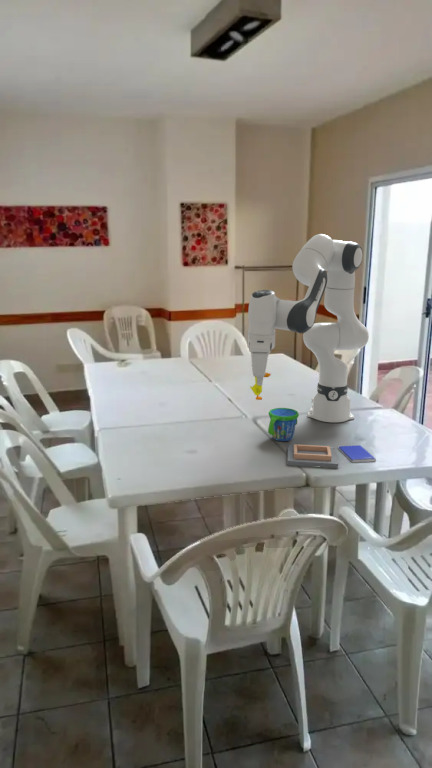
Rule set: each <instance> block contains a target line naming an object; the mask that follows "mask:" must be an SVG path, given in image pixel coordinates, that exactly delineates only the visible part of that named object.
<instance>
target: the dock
mask: <svg viewBox="0 0 432 768" xmlns="http://www.w3.org/2000/svg"><path fill="white" fill-rule="evenodd" d="M337 456H338V455H337V451H336V448H335V447H331V446H330V445H313V444H295V443H294V444H293V445H287V462H286V465H287V466H292V467H293V466H294V467H295V466H296V467H308V466H320V467H319V468H325V467H332V468H331V469H339V462H338V457H337Z"/></svg>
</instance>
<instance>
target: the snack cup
mask: <svg viewBox="0 0 432 768" xmlns="http://www.w3.org/2000/svg"><path fill="white" fill-rule="evenodd" d="M268 416H269V424H268V428H267V431H268V432H267V433H268V435H269V436H270V435H271V436H272V439H274V440H276V441H279V442H289V441H292V440H293V439H294V435H295V430H296V425H297V424H298V418H299V412H298V411H297V410H296V409H292V408H288V407H276V408H271V409H270V410H269V411H268Z"/></svg>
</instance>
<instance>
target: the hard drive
mask: <svg viewBox="0 0 432 768" xmlns="http://www.w3.org/2000/svg"><path fill="white" fill-rule="evenodd" d="M338 450H339V451H340V452H341V453H342V454H343V455H344V457H346V458H347V459H348V460H349V461H350V462H351V463H365V462H368V463H369V462H376V457H374V456H373V455H372V454H371V453H370V452H369V451H367V450H366V449H365V448H364V447H363V446H362V445H359V444H358V445H340V446H338Z"/></svg>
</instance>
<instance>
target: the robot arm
mask: <svg viewBox="0 0 432 768" xmlns="http://www.w3.org/2000/svg"><path fill="white" fill-rule="evenodd" d="M363 254H364V253H363V248H362V246H361V245H360V243H357V242H354V241H345V240H344V241H343V240H338V239H332V238H331V237H330V236H329V235H326V234H323V233H319V234H316V235H313V236H312V237H311V238H310V239H309V240H307V241H306V243H305V244H304V245H303V246H302V247H301V249H300V250H299V252H298V253H297V254H296V256H295V258H294V259H293V262H292V272H293V275H294V277H295V278H296V280H297V281H298V282H299V283H301V284H302V285H304V286H307V287H308V288H307V290H306V293H305V295H304V297H303V299H300V300H291V299H281V298H279V297H277V296H276V293H275V291H273V290H270V289H261V290H256V291H254V292H252V293H251V295H250V298H249V302H248V311H247V312H248V314H247V321H248V329H247V348H248V349H249V352H250V356H251V357H250V358H251V371H252V377H254V378H255V377H257V385H259V386H263V385H264V384H263V383H264V378H265V377H264V376H265V373H266V370H267V365H268V360H269V359H268V357H269V355H270V354H271V353H272V350H273V349H275V347H276V329H278V330H283V331H290V332H294V333H299V334H303V335H302V339H303V343H304V345H305V346H306V348H307V349H308V350H310V351H311V352H312V353H313V354H314V356H315V358H316V360H317V363H318V373H319V374H318V375H319V376H318V383H317V387H316V390H317V391H316V392H317V393H316V394H315V395H314V396H313V397H312V398H311V403H312V405H311V407H310V409H309V411H308V412H307V415H306V417H308V418H312V419H315V420H317V421H320V422H325V423H326V422H327V423H343V422H347V421H350V420H354V419H355V415H354V414H353V413H352V412H351V402H352V401H351V398H350V397H349V396H348V390H349V389H348V371H349V370H348V369H349V368H348V365H347V363H346V362H345V361H344V360H341V359H340V358H339V357H336V356H335V351H355V350H360V349H363V348H364V347H366V345H367V343H368V342H369V337H370V335H369V330H368V328H367V327H366V326H365V324H363V323H362V322H361V321H360V320H359V318H358V317H357V314H356V312H355V307H354V306H355V305H354V304H355V303H354V301H355V300H354V299H355V285H356V273H355V271H358V269H359V268H360V266H361V264H362V262H363ZM323 297H324V300H323V305H324V309H326V310H327V312H329V313H331V314H333V315H334V316H336V318H337V320H336V322H316V317H317V313H318V309H319V306H320V304H321V301H322V299H323ZM315 322H316V323H315Z"/></svg>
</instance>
